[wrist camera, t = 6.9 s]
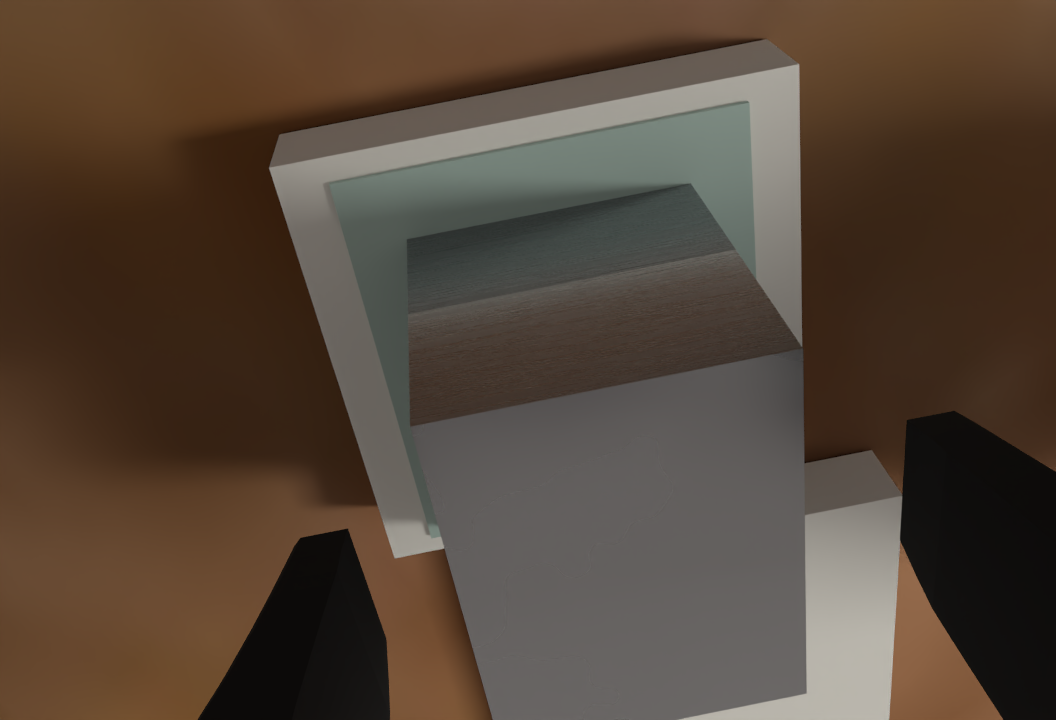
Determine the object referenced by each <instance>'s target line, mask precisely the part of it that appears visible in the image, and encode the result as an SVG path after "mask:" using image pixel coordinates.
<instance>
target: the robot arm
mask: <svg viewBox="0 0 1056 720" xmlns="http://www.w3.org/2000/svg"><path fill="white" fill-rule="evenodd" d="M900 541H901V543H902V545H903V547H904V550H905V552H906V554H907V556H908V558H909V561H910V563H911V565H912V567H913V569H914V572H915V574H916V576H917V578H918V580H919V582H920V584H921V586H922V588H923V590H924V592H925V594H926V596H927V598H928V600H929V603H930V605H931V607H932V609H933V610H934V612H935V613H936V615H937V617H938V618H939V620H940V622H941V623H942V625H943V626H944V628H945V630H946V631H947V633H948V634H949V636H950V637H951V639H952V641H953V642H954V644H955V645H956V647H957V648H958V650H959V652H960V653H961V655H962V656H963V658H964V659H965V661H966V663H967V664H968V666H969V667H970V669H971V670H972V672H973V673H974V675H975V676H976V678H977V679H978V681H979V683H980V684H981V686H982V687H983V689H984V690H985V692H986V693H987V695H988V696H989V698H990V700H991V701H992V703H993V704H994V706H995V707H996V709H997V710H998V712H999V713H1000V715H1001V717H1002V718H1003V720H1056V472H1055V471H1053V470H1052V469H1050V468H1048V467H1047V466H1045V465H1043V464H1042V463H1040V462H1039V461H1037V460H1035V459H1034V458H1032V457H1030V456H1029V455H1027V454H1025V453H1024V452H1022V451H1020V450H1019V449H1017V448H1016V447H1014V446H1012V445H1011V444H1009V443H1007V442H1006V441H1004V440H1002V439H1001V438H999V437H998V436H996V435H994V434H993V433H991V432H989V431H988V430H986V429H984V428H983V427H981V426H979V425H978V424H976V423H974V422H973V421H971V420H969V419H968V418H966V417H964V416H962V415H961V414H959V413H957V412H955V411H951V412H946V413H941V414H936V415H931V416H926V417H920V418H915V419H910V420H907V427H906V443H905V460H904V477H903V493H902V510H901V527H900ZM198 720H390V702H389V678H388V660H387V642H386V637H385V634H384V631H383V628H382V625H381V622H380V620H379V617H378V614H377V611H376V608H375V605H374V602H373V600H372V597H371V594H370V591H369V588H368V585H367V582H366V580H365V577H364V574H363V571H362V568H361V565H360V562H359V559H358V557H357V554H356V551H355V548H354V545H353V542H352V539H351V537H350V534H349V531H348V529H344V530H339V531H334V532H328V533H323V534H318V535H313V536H308V537H303V538H300V539H299V541H298V542H297V543H296V545H295V546H294V548H293V550H292V552H291V554H290V556H289V558H288V560H287V562H286V564H285V566H284V568H283V570H282V572H281V574H280V576H279V578H278V580H277V582H276V584H275V586H274V588H273V590H272V592H271V594H270V596H269V597H268V599H267V601H266V603H265V605H264V607H263V609H262V611H261V613H260V614H259V616H258V618H257V620H256V622H255V624H254V626H253V628H252V629H251V631H250V633H249V635H248V636H247V638H246V640H245V642H244V643H243V645H242V647H241V649H240V650H239V652H238V654H237V656H236V658H235V659H234V661H233V663H232V665H231V666H230V668H229V670H228V672H227V673H226V675H225V677H224V678H223V680H222V682H221V683H220V685H219V687H218V688H217V690H216V692H215V693H214V695H213V696H212V698H211V699H210V701H209V703H208V704H207V706H206V707H205V709H204V710H203V712H202V714H201V715H200V717H199V718H198Z"/></svg>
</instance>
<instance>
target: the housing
mask: <svg viewBox="0 0 1056 720" xmlns="http://www.w3.org/2000/svg"><path fill="white" fill-rule="evenodd" d="M407 281H408V338H409V396H410V428H411V432H412V435H413V439H414V443H415V446H416V450H417V453H418V457H419V460H420V464H421V467H422V471H423V474H424V478H425V481H426V485H427V489H428V492H429V496H430V499H431V503H432V506H433V510H434V513H435V517H436V520H437V524H438V527H439V531H440V535H441V538H442V542H443V545H444V549H445V552H446V556H447V559H448V563H449V566H450V570H451V573H452V577H453V581H454V584H455V588H456V591H457V595H458V598H459V602H460V605H461V609H462V612H463V616H464V619H465V623H466V627H467V630H468V634H469V637H470V641H471V644H472V648H473V651H474V655H475V658H476V662H477V665H478V669H479V673H480V676H481V680H482V683H483V687H484V690H485V694H486V697H487V701H488V704H489V708H490V711H491V715H492V719H493V720H679V719H684V718H689V717H694V716H699V715H703V714H708V713H713V712H718V711H723V710H728V709H733V708H738V707H743V706H748V705H753V704H758V703H763V702H768V701H773V700H778V699H783V698H788V697H793V696H797V695H802V694H807V672H806V575H805V478H804V381H803V348H802V346H801V345H800V343H799V342H798V340H797V339H796V337H795V336H794V334H793V333H792V331H791V330H790V328H789V327H788V326H787V324H786V323H785V321H784V320H783V318H782V317H781V315H780V314H779V312H778V311H777V309H776V308H775V306H774V305H773V303H772V302H771V301H770V299H769V298H768V296H767V295H766V293H765V292H764V290H763V289H762V287H761V286H760V284H759V283H758V281H757V280H756V278H755V277H754V276H753V274H752V273H751V271H750V270H749V268H748V267H747V265H746V264H745V262H744V261H743V259H742V258H741V256H740V255H739V253H738V252H737V251H736V249H735V248H734V246H733V245H732V243H731V242H730V240H729V239H728V237H727V236H726V234H725V233H724V231H723V230H722V228H721V227H720V226H719V224H718V223H717V221H716V220H715V218H714V217H713V215H712V214H711V212H710V211H709V209H708V208H707V206H706V205H705V203H704V202H703V201H702V199H701V198H700V196H699V195H698V193H697V192H696V190H695V189H694V187H693V186H692V184H691V183H690V184H685V185H680V186H675V187H670V188H665V189H660V190H655V191H649V192H644V193H639V194H634V195H629V196H624V197H619V198H614V199H609V200H604V201H599V202H594V203H589V204H583V205H578V206H573V207H568V208H563V209H558V210H553V211H548V212H543V213H538V214H533V215H528V216H523V217H517V218H512V219H507V220H502V221H497V222H492V223H487V224H482V225H477V226H472V227H467V228H462V229H457V230H451V231H446V232H441V233H436V234H431V235H426V236H421V237H416V238H411V239H407Z"/></svg>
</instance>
